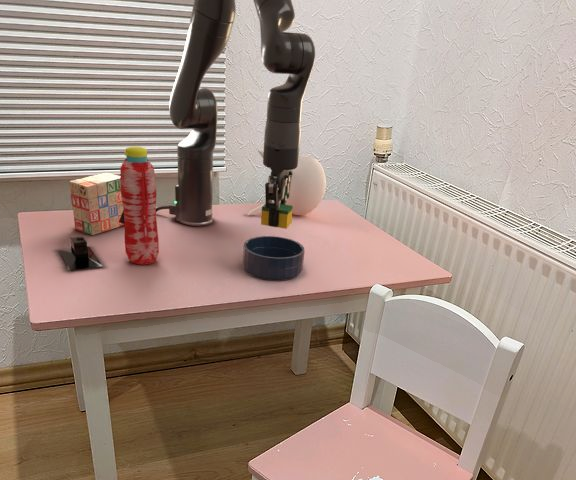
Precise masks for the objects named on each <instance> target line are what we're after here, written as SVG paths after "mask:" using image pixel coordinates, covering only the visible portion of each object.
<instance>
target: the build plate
mask: <svg viewBox="0 0 576 480" xmlns="http://www.w3.org/2000/svg"><path fill="white" fill-rule="evenodd" d="M69 244H70V248H62V249H58V252H59V254H60V255H61V257H62V259H63V261H64V262H65V264H66V266H67V267H66V268H67V270H68V271H70V272H77V271H83V270H84V271H85V270H93V269H101V268H103V267H104V265H103V264H102V263H101V261H100V259H99V258H98V256H97V255H96V253H95V252H94V251H93V249H92V248H91V246H88V242H87V240H86V239H85V237H84V236H75V237H69Z"/></svg>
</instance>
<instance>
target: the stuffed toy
mask: <svg viewBox="0 0 576 480" xmlns="http://www.w3.org/2000/svg"><path fill="white" fill-rule="evenodd" d="M257 152H258V153H259V155H260V157H261V158H263V153H264V150H257ZM289 171H292V173H293V174H292V179H291V186H290V193H289V198H288V199H287V202H286V204H285V205H290V206H293V209H292V215H295V216H305V215H309V214H310V213H311V212H313V211H314V210H316V209H317V207H318V206H319V205H320V203H321V202H322V200H323V197H324V196H325V193H327V194H329V195H330V194H331V192H332V191H331V190H328V191H326V188H327V177H326V172H325V170H324V168H323V165H322V164H321V163H320V162H319V161H318V160H317V159H316V158H314V157H312V156H310V155H299V158H298V166H297V168H295V169H293V170H289ZM272 203H274V201H273V200H272ZM265 204H266V203H263V204H262V205H259V206H257V207H255V208H252V210H250V211H249V212H248V213H247V214H246V216H256V215H260V214H262V207H263V206H264V205H265Z"/></svg>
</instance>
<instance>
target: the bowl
mask: <svg viewBox="0 0 576 480" xmlns="http://www.w3.org/2000/svg"><path fill="white" fill-rule="evenodd" d="M242 246H243V247H242V267H243V270H244V271H245V272H246V273H247V274H248V275H250V276H252V277H255V278H257V279H261V280H266V281H273V282H274V281H275V282H277V281H278V282H279V281H280V282H281V281H289V280H293V279H295V278H297V277H299V275H301V274H302V272H303V270H304V262H305V261H304V260H305V250H306V249H305V247H304V245H303V244H301V243H300V242H298V241H296V240H294V239H291V238H287V237H282V236H276V235H275V236H274V235H263V236H262V235H260V236H255V237H250V238H249V239H246V240H244V242H243V245H242Z"/></svg>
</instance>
